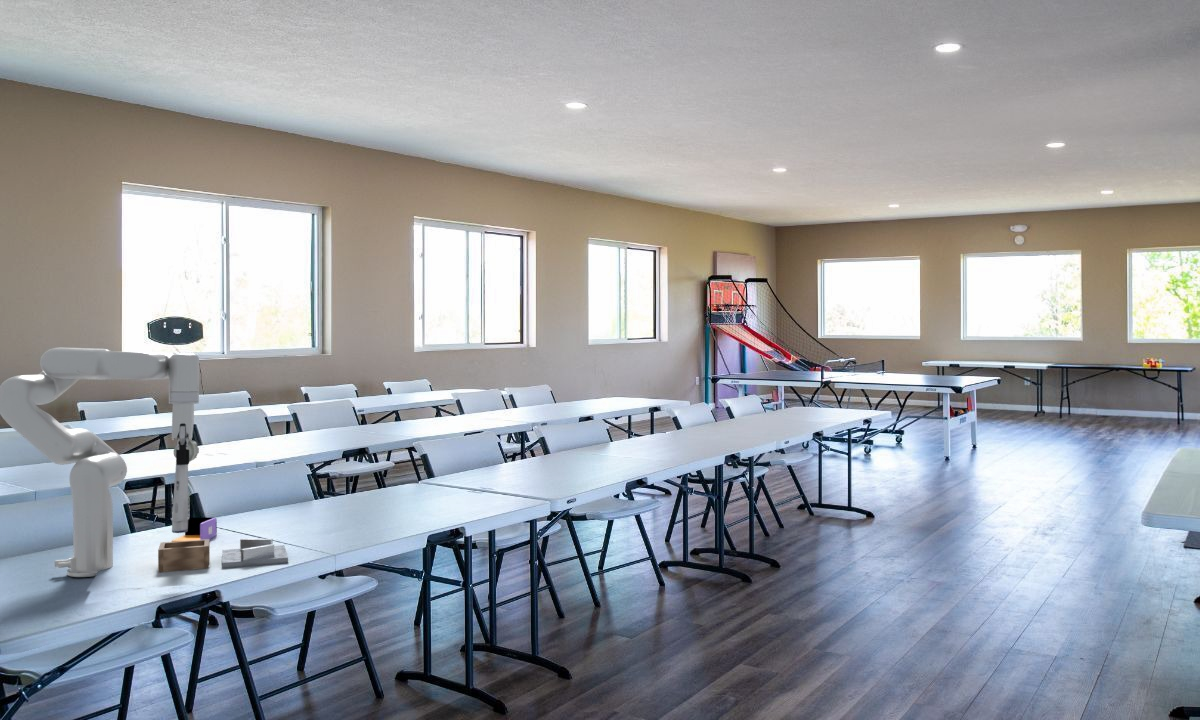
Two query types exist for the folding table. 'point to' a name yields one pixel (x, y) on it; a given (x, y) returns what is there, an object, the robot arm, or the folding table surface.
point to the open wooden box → (183, 555)
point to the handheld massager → (182, 492)
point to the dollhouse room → (199, 529)
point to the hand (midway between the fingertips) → (183, 462)
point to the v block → (254, 554)
